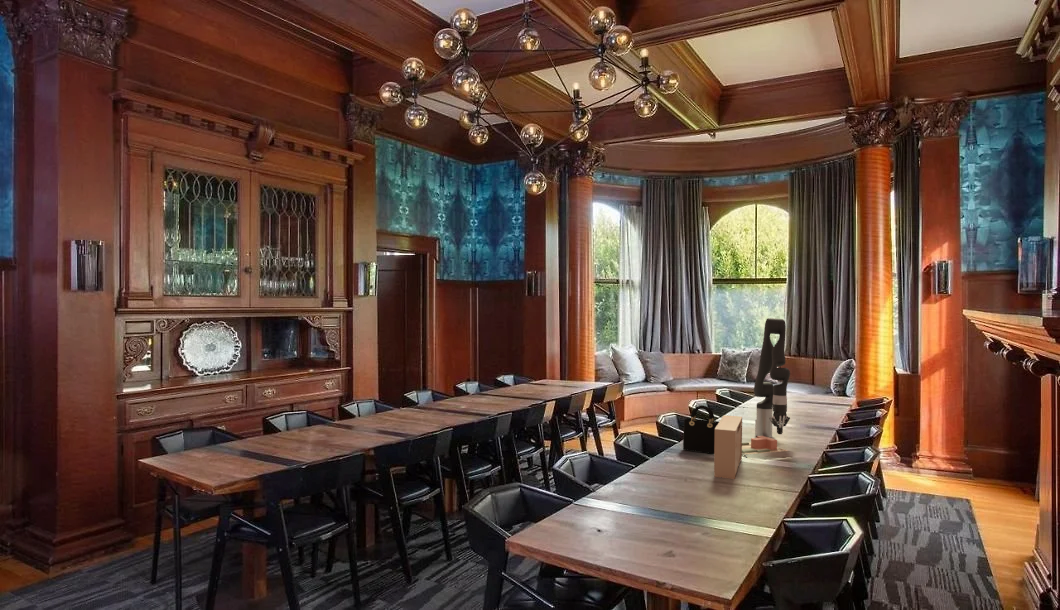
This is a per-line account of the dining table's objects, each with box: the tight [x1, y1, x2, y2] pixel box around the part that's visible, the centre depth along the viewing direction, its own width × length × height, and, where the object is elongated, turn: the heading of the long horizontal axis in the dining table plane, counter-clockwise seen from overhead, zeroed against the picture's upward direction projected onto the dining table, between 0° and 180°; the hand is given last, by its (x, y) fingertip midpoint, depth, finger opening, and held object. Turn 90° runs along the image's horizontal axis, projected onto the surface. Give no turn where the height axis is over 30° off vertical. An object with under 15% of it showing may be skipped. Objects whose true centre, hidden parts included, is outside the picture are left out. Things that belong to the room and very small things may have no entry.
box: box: [713, 414, 743, 480], centre depth 315 cm, size 10×40×22 cm, turn 157°
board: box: [742, 441, 789, 457], centre depth 354 cm, size 24×28×2 cm
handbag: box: [682, 405, 720, 455], centre depth 350 cm, size 21×9×25 cm, turn 58°
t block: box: [750, 436, 778, 450], centre depth 355 cm, size 12×11×5 cm
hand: (779, 434), depth 358 cm, fingers closed
